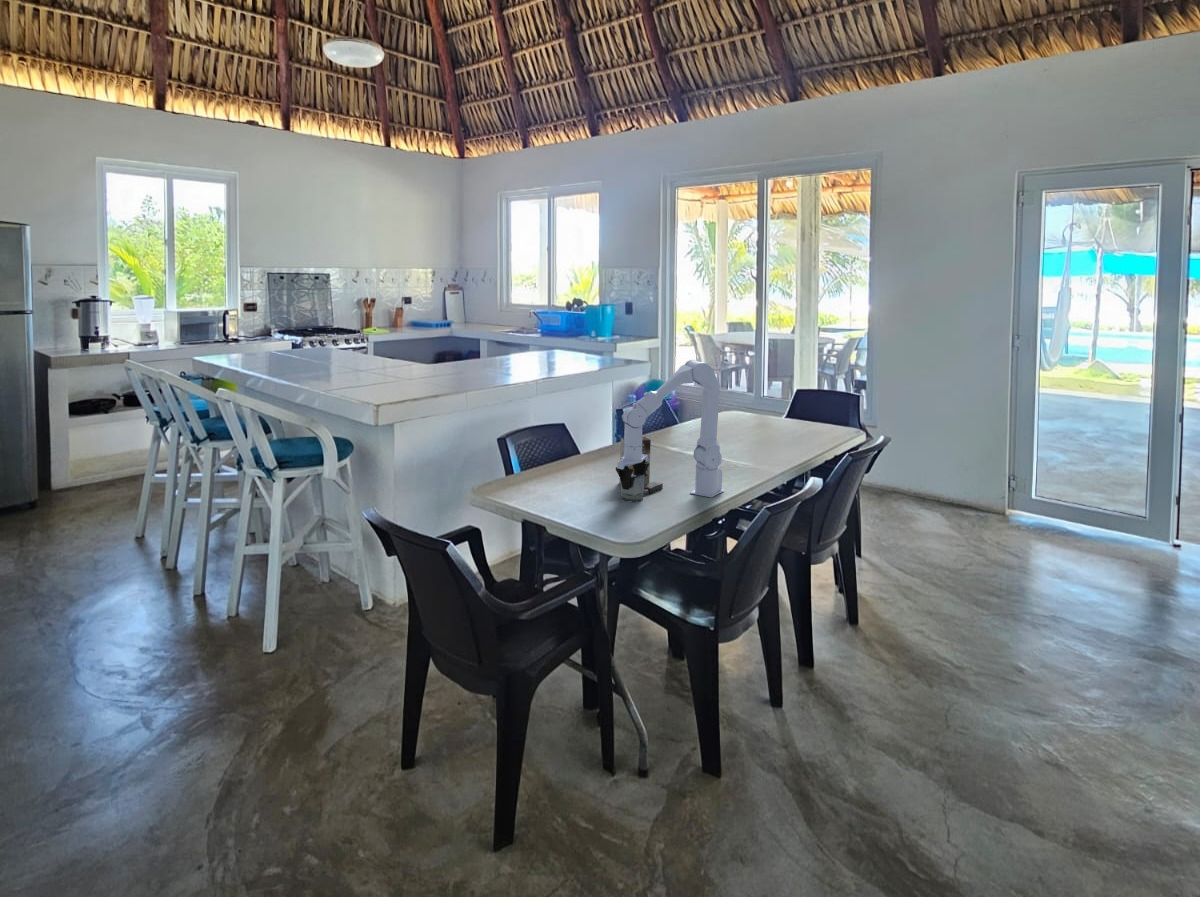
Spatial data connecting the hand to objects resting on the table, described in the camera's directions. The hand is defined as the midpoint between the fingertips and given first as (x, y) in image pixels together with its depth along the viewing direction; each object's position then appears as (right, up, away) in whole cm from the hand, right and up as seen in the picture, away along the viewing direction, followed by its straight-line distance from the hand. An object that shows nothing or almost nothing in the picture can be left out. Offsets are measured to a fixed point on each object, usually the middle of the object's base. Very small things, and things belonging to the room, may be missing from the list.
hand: (632, 486), depth 250 cm
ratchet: (+4, -3, +6) cm, 7 cm away
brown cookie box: (+2, 0, +18) cm, 18 cm away
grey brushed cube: (0, -2, 0) cm, 2 cm away
